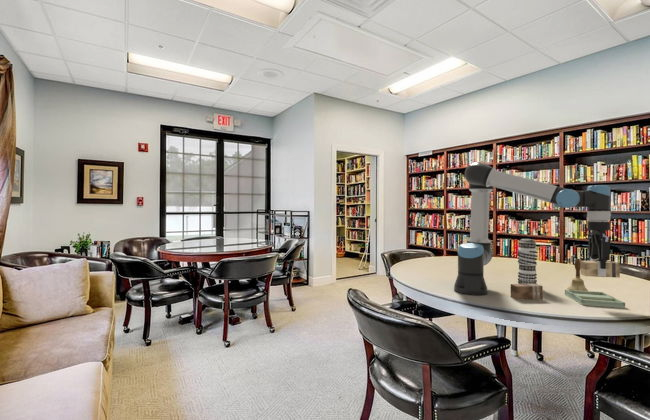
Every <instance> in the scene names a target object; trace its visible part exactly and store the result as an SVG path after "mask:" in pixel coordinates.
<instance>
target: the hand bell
mask: <svg viewBox="0 0 650 420" xmlns="http://www.w3.org/2000/svg"><path fill="white" fill-rule="evenodd" d="M580 261H581V260H580V258H576V259H575V261H574V269H575V277H574V278H572V279H571V284H570V285H569V286H567V289H566V290H577V291H589V290H588V289H587V287H586V286H585V283H584V282H585V281H584V280H583V279H582V278H581V271H580Z"/></svg>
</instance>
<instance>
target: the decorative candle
mask: <svg viewBox="0 0 650 420" xmlns="http://www.w3.org/2000/svg"><path fill="white" fill-rule="evenodd" d="M518 243H519V244H518V250H517V251H516V253H517V256H518V257H517V264H518V272H517V274H518V275H517V277H518V278H517V280H518V281H517V284H538V283H537V281H538V280H537V275H538V274H537V266H538V264H537V263H538V262H537V260H538V258H537V257H538V255H537V254H538V253H539V252H538V251H537V242H536V241H535V239H533V238H532V239H531V238H520V240H519V241H518Z"/></svg>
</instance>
